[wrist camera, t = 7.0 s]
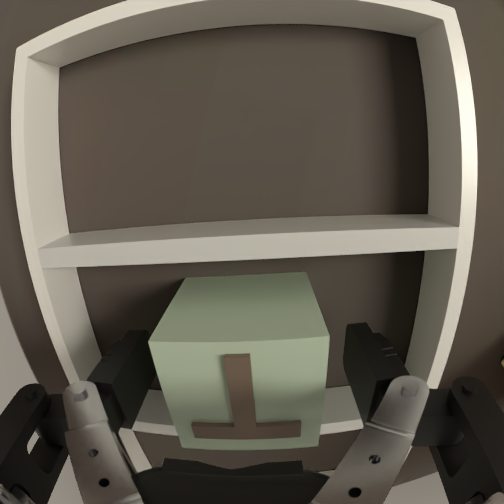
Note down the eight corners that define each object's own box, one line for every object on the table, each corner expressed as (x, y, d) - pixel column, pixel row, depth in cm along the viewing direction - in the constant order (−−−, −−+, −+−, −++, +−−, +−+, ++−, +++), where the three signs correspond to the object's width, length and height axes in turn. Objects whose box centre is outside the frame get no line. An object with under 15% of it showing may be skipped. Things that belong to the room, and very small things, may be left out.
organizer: (427, 26, 9) (454, 8, 7) (379, 466, 17) (387, 491, 14) (48, 58, 10) (16, 48, 7) (145, 471, 18) (137, 496, 15)
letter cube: (305, 271, 13) (331, 339, 8) (304, 366, 14) (318, 449, 9) (185, 277, 13) (146, 345, 8) (202, 370, 14) (181, 451, 9)
